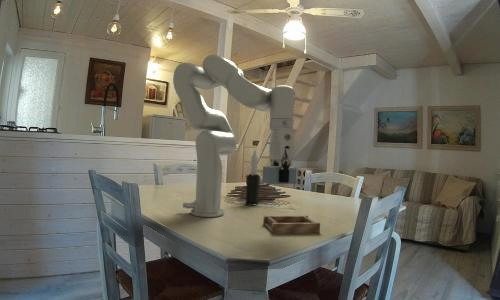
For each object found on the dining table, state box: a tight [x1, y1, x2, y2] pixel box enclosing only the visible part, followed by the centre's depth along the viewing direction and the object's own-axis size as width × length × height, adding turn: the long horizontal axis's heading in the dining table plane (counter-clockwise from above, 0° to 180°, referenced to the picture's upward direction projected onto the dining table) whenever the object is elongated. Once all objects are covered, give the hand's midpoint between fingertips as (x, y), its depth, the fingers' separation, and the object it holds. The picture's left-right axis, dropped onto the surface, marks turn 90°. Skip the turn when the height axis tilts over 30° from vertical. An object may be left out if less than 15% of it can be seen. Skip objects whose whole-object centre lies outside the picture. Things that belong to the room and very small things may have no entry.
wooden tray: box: [262, 215, 321, 235], centre depth 98 cm, size 16×10×3 cm, turn 104°
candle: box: [245, 149, 261, 205], centre depth 134 cm, size 5×5×25 cm
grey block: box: [262, 165, 297, 185], centre depth 95 cm, size 9×6×5 cm, turn 109°
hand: (279, 180), depth 95 cm, fingers closed on grey block, 6 cm apart
